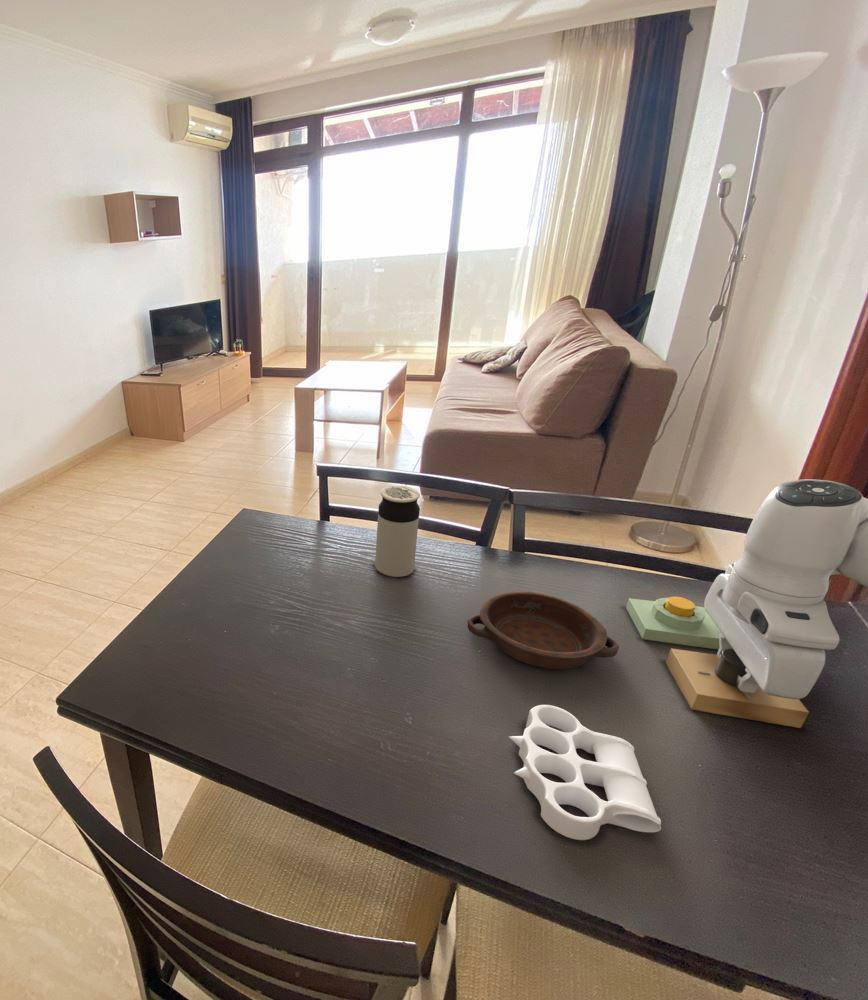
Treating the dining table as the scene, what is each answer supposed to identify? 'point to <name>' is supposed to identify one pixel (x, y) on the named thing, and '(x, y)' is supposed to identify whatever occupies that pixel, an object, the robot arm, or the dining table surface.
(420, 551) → the dining table surface
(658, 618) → the button housing
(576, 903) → the dining table surface
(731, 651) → the dial
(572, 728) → the knuckle duster
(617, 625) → the dining table surface
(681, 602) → the button
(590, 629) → the dish
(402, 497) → the travel mug
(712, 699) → the dial panel
